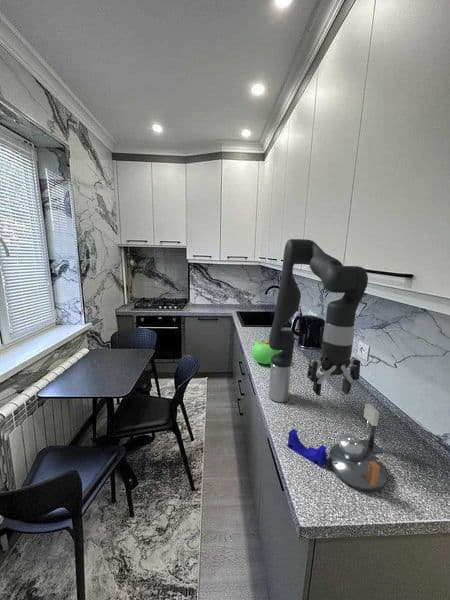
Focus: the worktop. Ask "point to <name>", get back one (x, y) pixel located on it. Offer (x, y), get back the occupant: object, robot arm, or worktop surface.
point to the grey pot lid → (359, 470)
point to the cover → (350, 447)
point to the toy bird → (263, 352)
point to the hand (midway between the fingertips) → (331, 393)
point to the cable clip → (309, 453)
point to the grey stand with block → (372, 417)
